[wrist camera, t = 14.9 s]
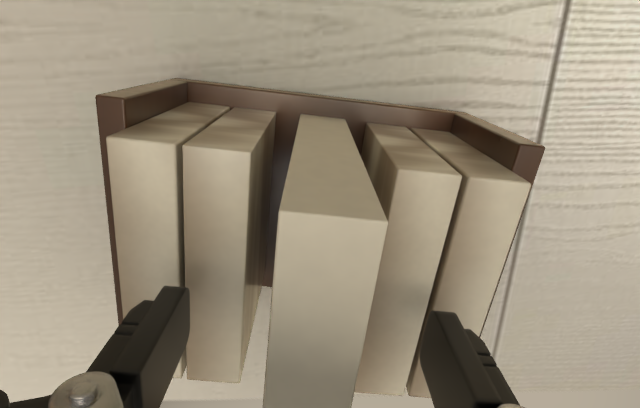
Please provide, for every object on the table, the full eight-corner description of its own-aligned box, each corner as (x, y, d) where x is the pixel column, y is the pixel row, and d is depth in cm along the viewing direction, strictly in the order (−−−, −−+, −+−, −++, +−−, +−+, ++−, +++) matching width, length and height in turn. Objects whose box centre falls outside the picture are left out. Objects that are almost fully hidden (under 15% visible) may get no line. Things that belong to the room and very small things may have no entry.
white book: (345, 118, 20) (389, 221, 8) (323, 278, 24) (331, 508, 12) (300, 113, 20) (278, 211, 8) (285, 274, 24) (254, 504, 12)
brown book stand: (466, 112, 21) (572, 157, 12) (420, 292, 26) (474, 419, 17) (174, 77, 20) (67, 99, 12) (179, 270, 25) (105, 391, 16)
